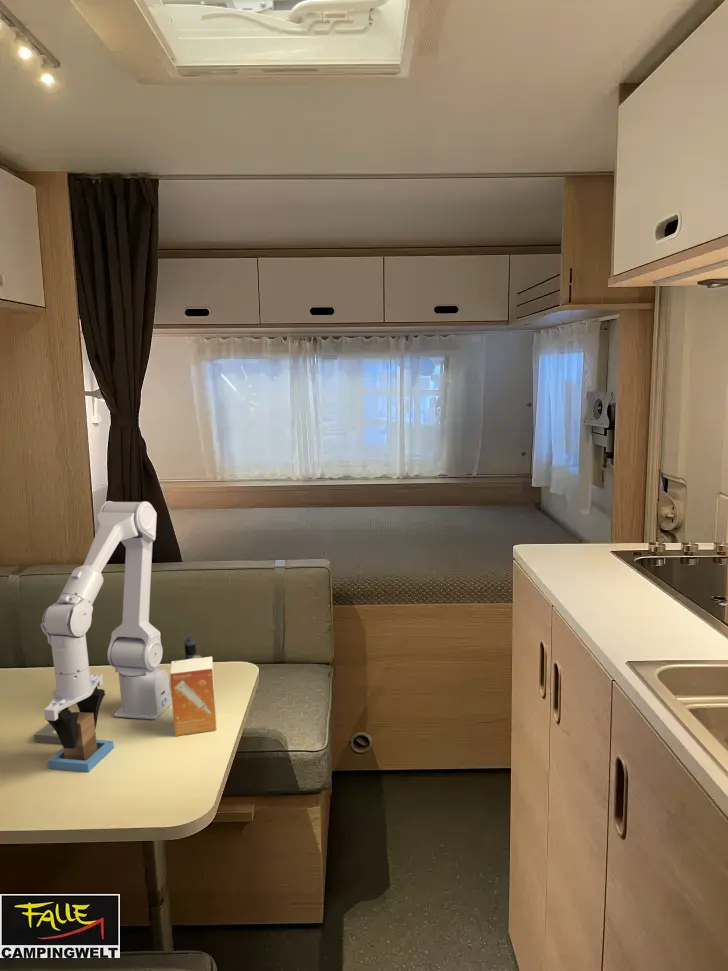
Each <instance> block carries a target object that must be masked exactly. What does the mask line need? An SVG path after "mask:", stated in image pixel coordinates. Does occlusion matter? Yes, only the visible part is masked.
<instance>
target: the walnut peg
mask: <svg viewBox="0 0 728 971" xmlns="http://www.w3.org/2000/svg"><path fill="white" fill-rule="evenodd" d="M75 712H76V713H79V716H78V719H77V724H76V746H75V748H73V749H70V748H64V756H65V759H72V760H83V761H86V760H87V759H89V758H90V757H91V756H92V755H93V754H94V753H95V752H96V751H97V742H96V740H97V735H96V729H95V724H94V714H93V713H86V712H80V711H75Z"/></svg>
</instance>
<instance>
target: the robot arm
mask: <svg viewBox="0 0 728 971" xmlns="http://www.w3.org/2000/svg"><path fill="white" fill-rule="evenodd" d="M157 517H158V516H157V512H156V510H155V508H154V506H153V505H152V504H151V503H150V502H149V501H111V500H108V501H105V502H103V503H102V505H100V507H99V510H98V514H97V515H96V517H95V519H96V526H97V531H96V533H95V536H94V537H93V540H92V543H91V545H90V547H89V550H88V553H87V555H86V557H85V560H84V563H83V565H81V566H78V567H75V568H74V569H73V570H72V572H71V574H70V576H69V578H68V580H67V581H66V583H65V586H64V587H63V589H62V591H61V593H60V595H59V597H58V599H57V600H56V602H54V603H53V604H52V605H50V606H49V607H47V608H46V609H45V610H44V613H43V615H42V622H41V623H40V628H41V630H42V632H43V633H44V635H46V638H47V643H48V644H49V645H50V646H51V653H52V659H53V660H52V661H53V668H54V669H53V670H54V676H55V684H56V685H55V687H56V688H55V689H54V690H53V691H52V696H54V697H53V698H52V699H51V701H50V703H49V704H48V706H47V707H45V708H44V709H43V715H44V720H45V721H47V722H48V723H50V724H51V725H52V727H53V728H54V729H55V730H54V732H55V733H57V735H58V736H59V739H60V741H61V743H62V744H61V745H62V749H63V748H70V749H73V748H75V746H76V724H77V719H78V716H79V713H76V712H77V711H73V712H72V710H71V709H70V707H71V706H73V705H75V704H76V705H77V709H78V712H86V713H93V714H94V724H95V730H96V728H97V725H98V718H99V711H100V708H101V704H102V702H103V699H104V697H105V696H106V695H105V694H106V693H105V689H103V688H98V687H100V686H102V685H103V684H104V680H103V678H104V677H103V674H101V673H100V674H99V673H92V674H91V673H90V664H89V654H88V646H87V645H88V644H87V637H86V633H87V632H88V630H89V629H90V628H91V625H92V617H93V616H92V615H93V611H94V610H93V609H94V607H93V604H94V602H95V600H96V598H97V596H98V594H99V592H100V589H101V587H102V586H103V585H104V584H103V583H104V577H103V573H102V572H103V570H104V568H105V567H106V564H107V563H108V562H109V560H110V558H111V557H112V555H113V554H114V551H115V550H116V549H117V546H118V545H119V544H120V542H121V544H122V545H123V546H124V547H125V558H124V559H125V560H124V578H123V579H124V580H123V581H124V583H123V597H122V599H123V600H122V601H123V602H122V617H121V618H122V621H121V623H120V625H118V626H117V627H116V628H115V629H113V631H112V632H111V637H110V641H109V645H108V648H107V652H106V653H107V661H108V663H109V665H110V666H111V667H112V668H114V672H115V673H118V679H119V680H118V681H119V688H120V702H121V707H120V708H119V709H118V710H117V711H116V712H114V713H113V717H116V718H129V719H140V720H141V719H144V720H156V719H157V718H158V717H159V716H160V715H162V713H164V711H165V710H167V708H168V707H169V706H170V705H171V704H172V695H171V683H170V677H169V676H170V675H169V673H168V672H167V671H166V670H165V669H160V668H158V667H159V665H160V664H161V661H162V659H163V654H164V653H163V652H164V650H163V649H164V648H163V646H162V642H161V641H162V640H161V634H162V633H161V632H160V630H159V629H157V628H156V627H155V626H154V625H152V624H151V623H150V606H151V605H150V604H151V603H150V602H151V583H152V582H151V580H152V578H151V577H152V563H153V562H152V559H153V543H154V542H155V540H156V537H157V533H156V532H157Z"/></svg>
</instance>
